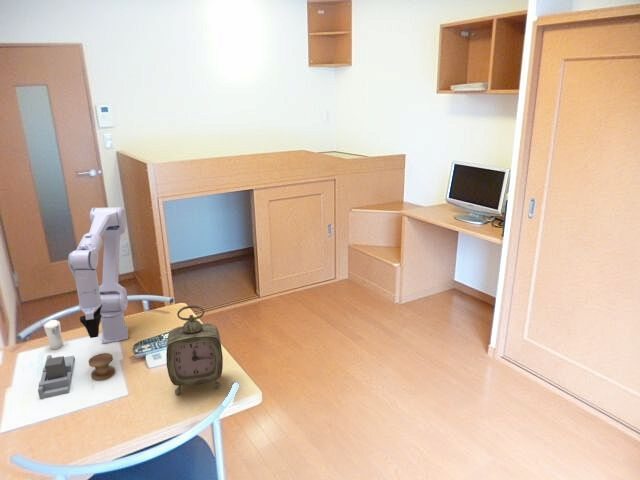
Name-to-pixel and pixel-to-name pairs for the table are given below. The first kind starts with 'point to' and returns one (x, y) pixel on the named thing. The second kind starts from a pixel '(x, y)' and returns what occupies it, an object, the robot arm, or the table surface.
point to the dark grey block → (56, 368)
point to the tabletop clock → (194, 352)
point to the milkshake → (53, 333)
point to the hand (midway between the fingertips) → (95, 331)
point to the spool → (102, 366)
